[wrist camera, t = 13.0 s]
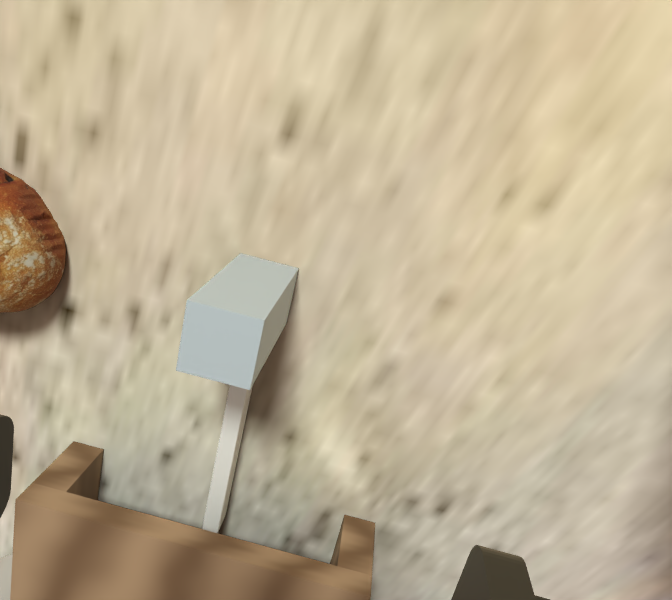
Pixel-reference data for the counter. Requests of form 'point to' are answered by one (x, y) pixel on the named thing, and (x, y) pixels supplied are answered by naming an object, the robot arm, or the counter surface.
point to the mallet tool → (234, 350)
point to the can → (5, 577)
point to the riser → (159, 550)
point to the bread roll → (27, 246)
